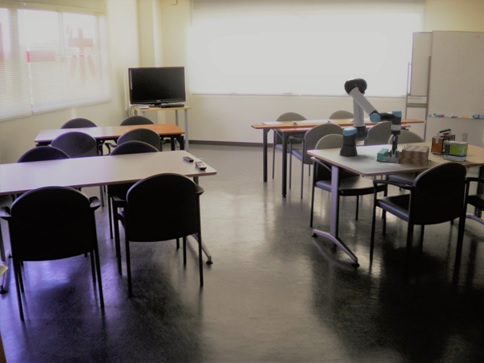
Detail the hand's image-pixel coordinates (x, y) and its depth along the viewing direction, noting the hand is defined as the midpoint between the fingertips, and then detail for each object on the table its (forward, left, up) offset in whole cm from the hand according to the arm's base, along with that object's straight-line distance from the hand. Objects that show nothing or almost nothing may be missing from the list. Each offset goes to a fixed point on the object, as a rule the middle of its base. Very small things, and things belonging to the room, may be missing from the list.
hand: (393, 157), depth 411 cm
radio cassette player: (+33, +54, -2) cm, 63 cm away
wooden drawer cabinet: (+16, 0, -2) cm, 16 cm away
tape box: (0, 0, 0) cm, 0 cm away
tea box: (+46, +24, -2) cm, 52 cm away
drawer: (0, 0, -1) cm, 1 cm away
